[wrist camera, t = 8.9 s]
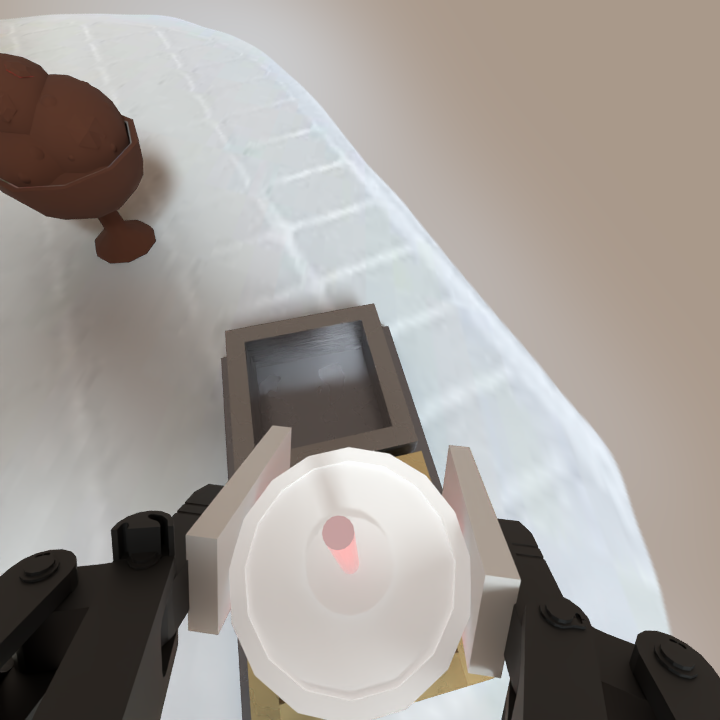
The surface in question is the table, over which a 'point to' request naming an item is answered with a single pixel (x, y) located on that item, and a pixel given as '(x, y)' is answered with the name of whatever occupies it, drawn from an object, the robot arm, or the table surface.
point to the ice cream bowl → (70, 154)
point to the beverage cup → (350, 585)
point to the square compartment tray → (323, 425)
